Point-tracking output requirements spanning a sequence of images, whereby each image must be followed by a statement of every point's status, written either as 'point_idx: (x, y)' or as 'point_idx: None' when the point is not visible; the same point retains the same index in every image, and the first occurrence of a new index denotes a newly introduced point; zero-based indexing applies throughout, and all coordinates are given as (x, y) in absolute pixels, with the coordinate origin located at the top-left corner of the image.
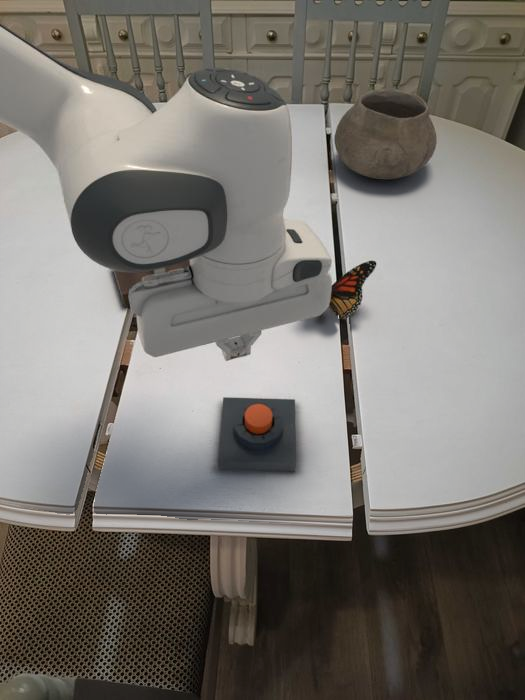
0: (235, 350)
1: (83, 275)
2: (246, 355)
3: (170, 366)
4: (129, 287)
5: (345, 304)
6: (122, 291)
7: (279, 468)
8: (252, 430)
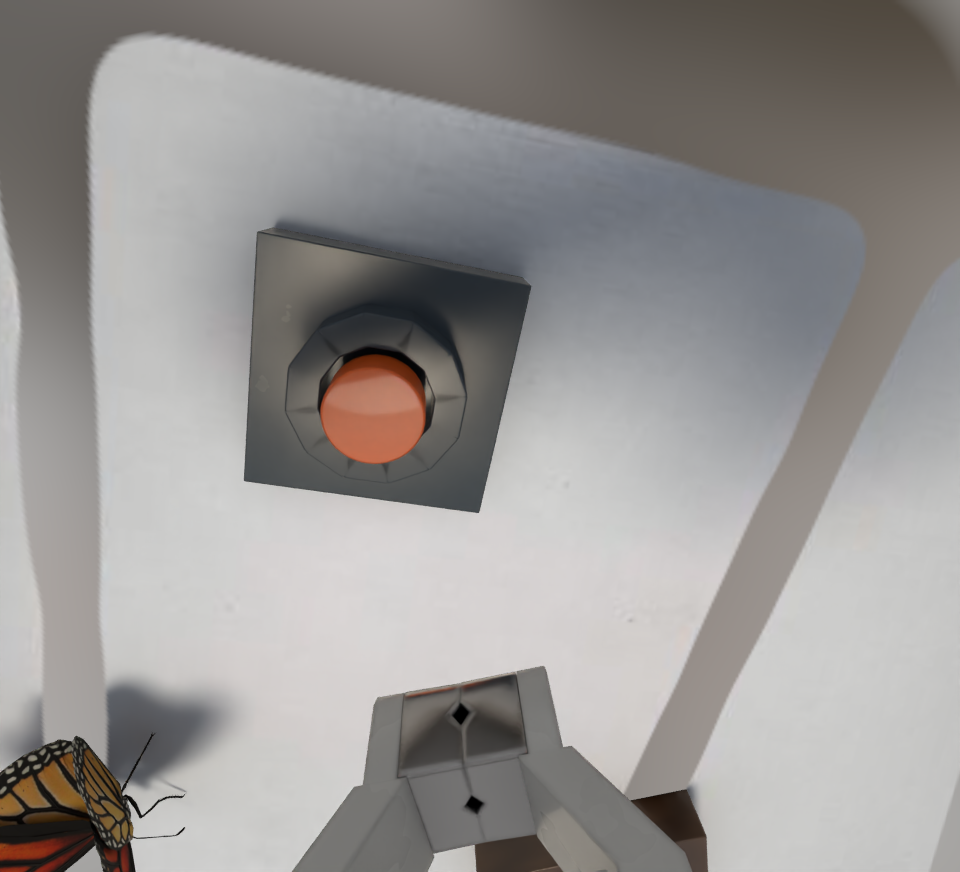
0: (487, 754)
1: (762, 869)
2: (403, 694)
3: (603, 624)
4: None
5: (42, 791)
6: (702, 844)
7: (324, 240)
8: (402, 367)
